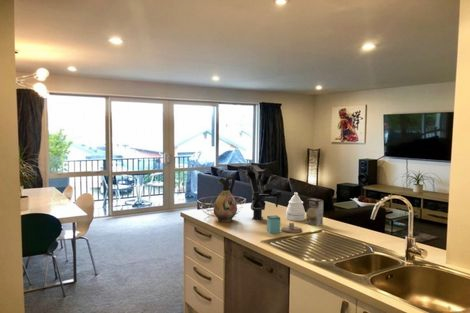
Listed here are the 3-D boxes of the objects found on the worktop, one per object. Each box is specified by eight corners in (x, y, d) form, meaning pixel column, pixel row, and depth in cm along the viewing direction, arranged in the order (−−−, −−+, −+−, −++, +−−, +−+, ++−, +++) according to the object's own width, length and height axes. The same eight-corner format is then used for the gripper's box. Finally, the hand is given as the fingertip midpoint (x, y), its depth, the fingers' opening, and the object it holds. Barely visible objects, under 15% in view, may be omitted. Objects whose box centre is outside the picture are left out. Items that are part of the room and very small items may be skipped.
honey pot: (304, 221, 230) (305, 194, 229) (285, 220, 232) (285, 193, 231) (304, 216, 242) (305, 191, 241) (286, 215, 245) (286, 190, 244)
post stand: (282, 227, 213) (282, 220, 213) (302, 228, 211) (302, 221, 210) (280, 232, 202) (280, 224, 202) (301, 234, 199) (301, 226, 199)
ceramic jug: (221, 224, 218) (221, 177, 217) (209, 219, 231) (209, 175, 229) (243, 221, 228) (244, 176, 226) (230, 216, 241) (231, 173, 239)
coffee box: (305, 223, 224) (306, 198, 223) (311, 221, 228) (311, 197, 227) (317, 226, 217) (318, 200, 216) (323, 224, 221) (323, 199, 220)
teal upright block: (266, 230, 205) (267, 215, 205) (276, 230, 206) (276, 215, 206) (270, 233, 199) (270, 218, 199) (280, 233, 201) (280, 217, 200)
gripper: (253, 179, 212) (257, 200, 201) (281, 178, 216) (288, 199, 205) (249, 189, 220) (254, 210, 209) (277, 189, 224) (283, 209, 214)
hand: (269, 207), depth 209 cm, fingers open, 9 cm apart
